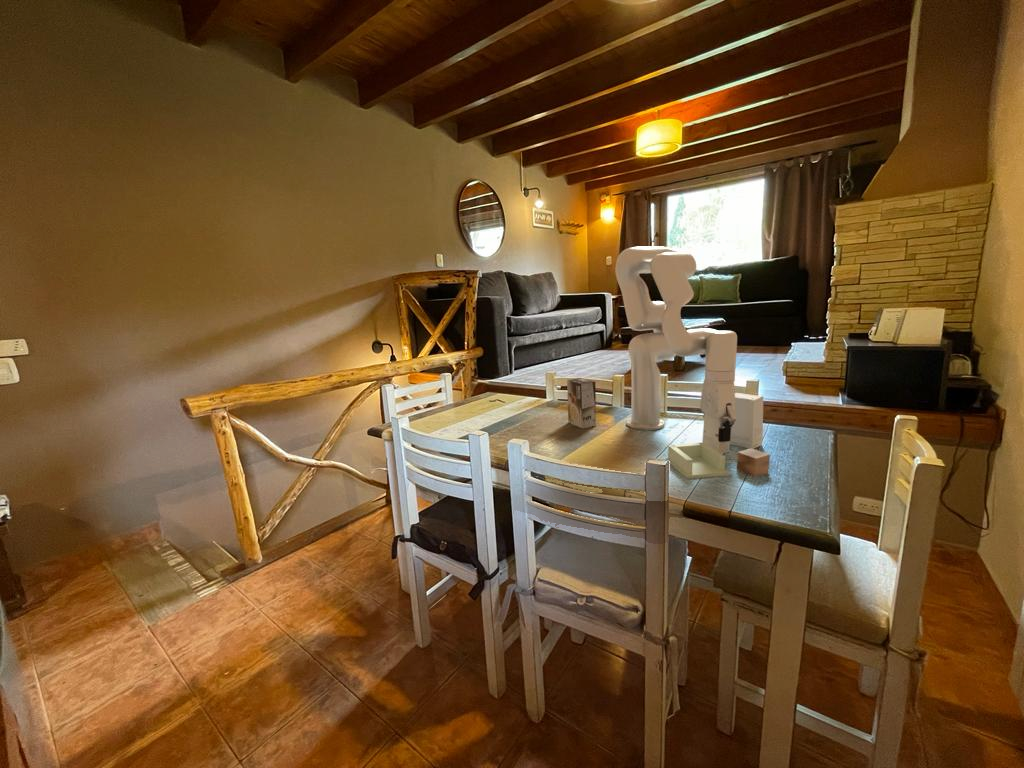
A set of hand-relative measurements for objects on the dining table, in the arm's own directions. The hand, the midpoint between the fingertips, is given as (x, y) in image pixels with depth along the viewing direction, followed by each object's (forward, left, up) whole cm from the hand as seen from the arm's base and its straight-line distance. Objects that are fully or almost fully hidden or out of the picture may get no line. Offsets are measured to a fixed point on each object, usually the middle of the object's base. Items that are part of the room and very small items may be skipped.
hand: (716, 436), depth 120 cm
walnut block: (+15, +1, -4) cm, 16 cm away
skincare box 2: (-3, +10, -5) cm, 11 cm away
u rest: (+10, -11, -4) cm, 15 cm away
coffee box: (-33, -31, -5) cm, 46 cm away
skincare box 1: (0, 0, -4) cm, 4 cm away
